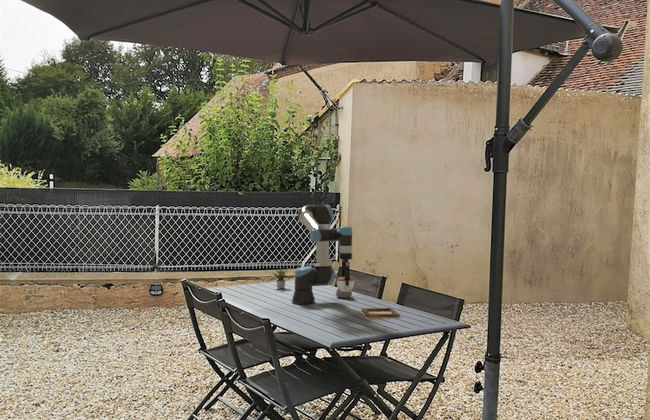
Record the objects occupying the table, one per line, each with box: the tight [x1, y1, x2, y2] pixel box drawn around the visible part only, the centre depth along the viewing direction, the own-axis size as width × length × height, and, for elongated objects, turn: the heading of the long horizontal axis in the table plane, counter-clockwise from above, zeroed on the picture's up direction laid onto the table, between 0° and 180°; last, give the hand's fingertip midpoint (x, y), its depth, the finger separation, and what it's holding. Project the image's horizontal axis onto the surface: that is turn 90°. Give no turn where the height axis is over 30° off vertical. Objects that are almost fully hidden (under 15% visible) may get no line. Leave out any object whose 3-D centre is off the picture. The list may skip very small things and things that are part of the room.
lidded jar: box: [336, 276, 355, 292], centre depth 345 cm, size 11×11×9 cm
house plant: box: [271, 267, 289, 289], centre depth 438 cm, size 14×14×16 cm
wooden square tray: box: [358, 307, 403, 320], centre depth 347 cm, size 22×22×2 cm
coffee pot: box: [335, 275, 353, 299], centre depth 405 cm, size 21×12×15 cm, turn 33°
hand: (345, 289), depth 346 cm, fingers closed on lidded jar, 11 cm apart
